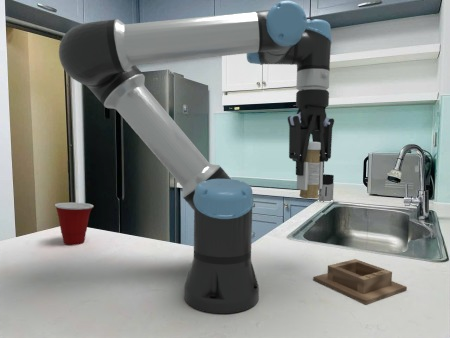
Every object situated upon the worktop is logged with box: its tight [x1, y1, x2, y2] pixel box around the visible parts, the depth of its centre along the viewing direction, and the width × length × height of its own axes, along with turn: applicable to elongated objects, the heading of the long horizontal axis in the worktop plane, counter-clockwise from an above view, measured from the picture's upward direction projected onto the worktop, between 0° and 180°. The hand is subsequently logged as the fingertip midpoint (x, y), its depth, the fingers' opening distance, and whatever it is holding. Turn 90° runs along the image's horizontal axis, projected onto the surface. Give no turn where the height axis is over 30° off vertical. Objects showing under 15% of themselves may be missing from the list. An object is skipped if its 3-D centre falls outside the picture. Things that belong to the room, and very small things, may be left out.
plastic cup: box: [54, 202, 94, 246], centre depth 106 cm, size 11×11×12 cm
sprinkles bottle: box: [299, 141, 321, 200], centre depth 83 cm, size 5×5×14 cm
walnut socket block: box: [312, 258, 408, 306], centre depth 78 cm, size 14×14×4 cm
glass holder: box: [317, 173, 335, 201], centre depth 193 cm, size 9×14×15 cm, turn 139°
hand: (309, 188), depth 83 cm, fingers closed on sprinkles bottle, 4 cm apart
